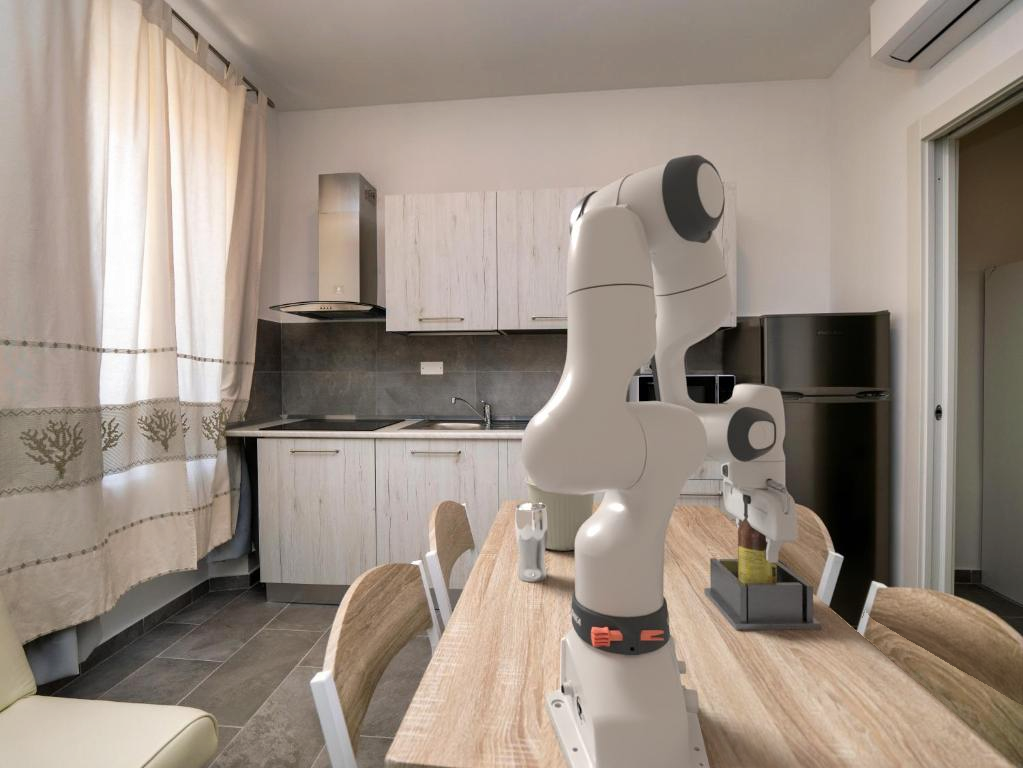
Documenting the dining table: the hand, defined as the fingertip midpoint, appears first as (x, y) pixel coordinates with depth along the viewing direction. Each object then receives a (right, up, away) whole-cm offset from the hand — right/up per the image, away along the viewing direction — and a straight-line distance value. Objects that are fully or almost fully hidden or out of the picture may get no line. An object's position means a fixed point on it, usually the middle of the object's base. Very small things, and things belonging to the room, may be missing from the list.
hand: (757, 551), depth 90 cm
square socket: (0, -11, 0) cm, 11 cm away
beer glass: (-40, -11, +17) cm, 44 cm away
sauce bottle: (0, -10, 0) cm, 10 cm away
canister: (-31, -11, +37) cm, 49 cm away
